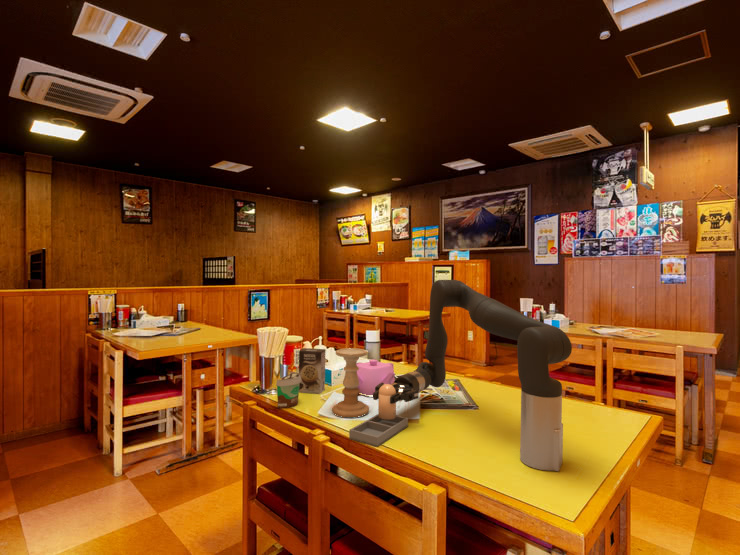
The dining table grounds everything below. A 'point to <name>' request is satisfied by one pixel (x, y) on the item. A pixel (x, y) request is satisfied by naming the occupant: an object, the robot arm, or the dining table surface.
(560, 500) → the dining table surface
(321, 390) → the coffee box
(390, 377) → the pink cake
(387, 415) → the peach domed shaker
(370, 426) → the divided tray
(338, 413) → the candle holder
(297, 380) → the food container
